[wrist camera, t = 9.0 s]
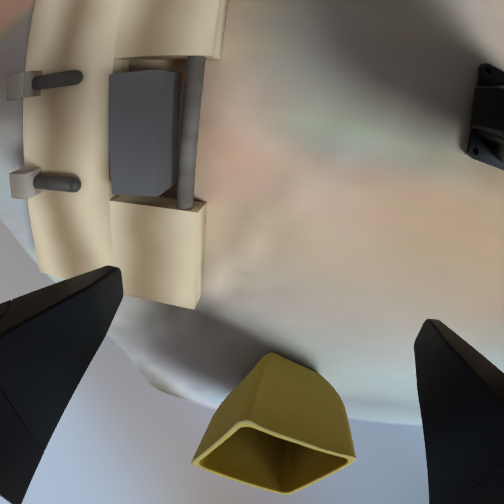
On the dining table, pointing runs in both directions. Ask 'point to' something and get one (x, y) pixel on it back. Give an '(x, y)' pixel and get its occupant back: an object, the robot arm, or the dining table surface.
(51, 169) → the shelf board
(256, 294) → the dining table surface
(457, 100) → the dining table surface
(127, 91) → the dark grey chamfered block
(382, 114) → the dining table surface
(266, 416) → the flower pot
